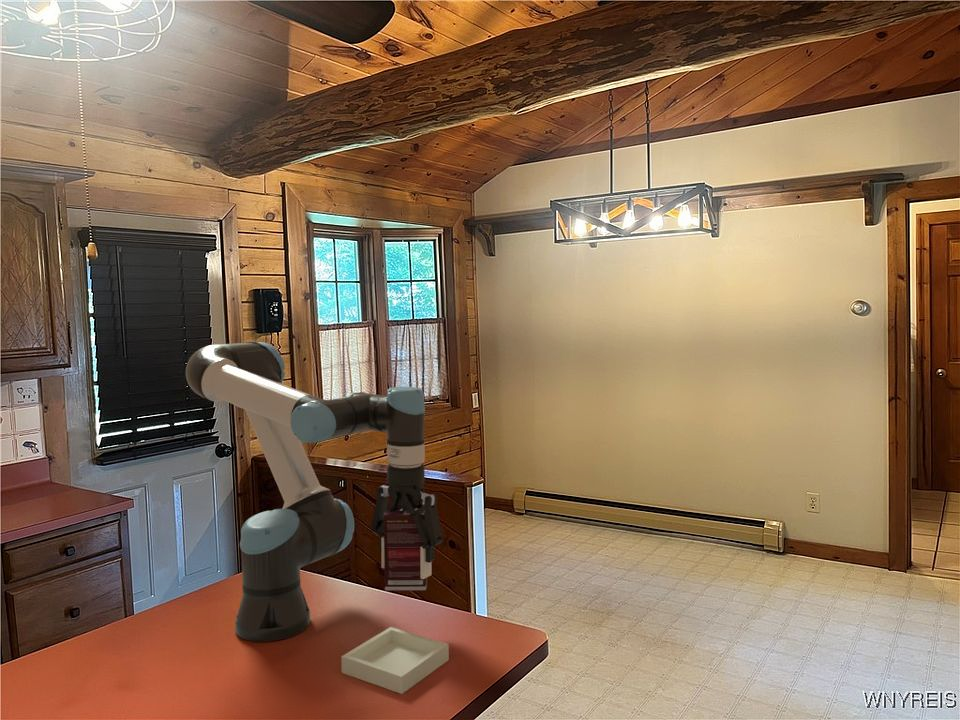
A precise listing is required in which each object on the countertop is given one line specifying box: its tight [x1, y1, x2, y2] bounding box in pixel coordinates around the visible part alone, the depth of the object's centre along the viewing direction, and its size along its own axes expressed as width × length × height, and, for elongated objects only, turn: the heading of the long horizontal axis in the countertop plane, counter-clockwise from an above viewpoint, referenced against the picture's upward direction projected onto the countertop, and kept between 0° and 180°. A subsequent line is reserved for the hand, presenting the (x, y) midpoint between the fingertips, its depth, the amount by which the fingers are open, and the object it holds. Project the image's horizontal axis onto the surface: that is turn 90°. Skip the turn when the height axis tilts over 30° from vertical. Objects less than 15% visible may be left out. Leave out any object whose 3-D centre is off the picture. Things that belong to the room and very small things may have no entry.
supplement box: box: [384, 507, 428, 591], centre depth 148 cm, size 9×5×16 cm, turn 91°
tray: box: [340, 626, 450, 695], centre depth 134 cm, size 14×14×3 cm
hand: (406, 571), depth 148 cm, fingers closed on supplement box, 9 cm apart
